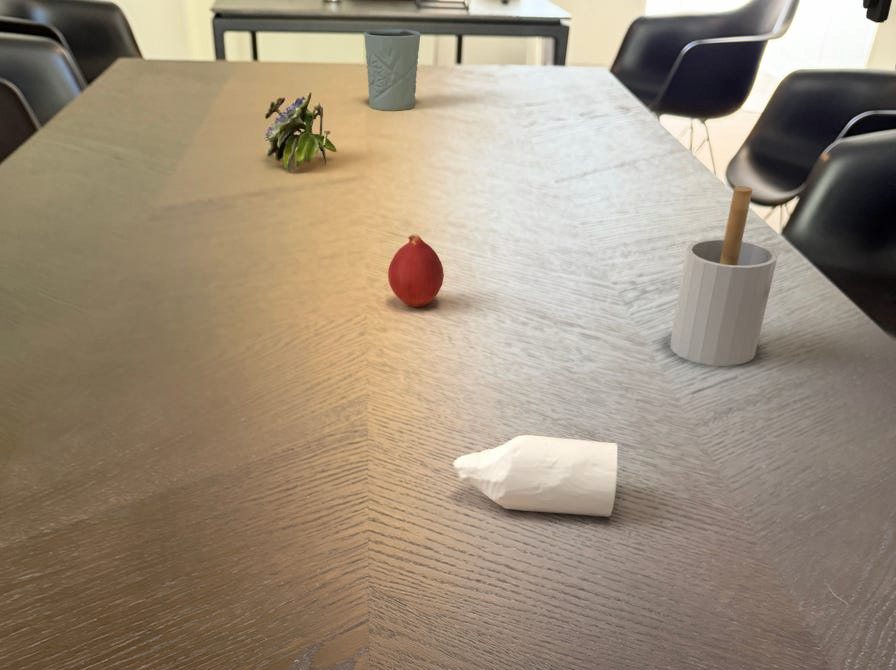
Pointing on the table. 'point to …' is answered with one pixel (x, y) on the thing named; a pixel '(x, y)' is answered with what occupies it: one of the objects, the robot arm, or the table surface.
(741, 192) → the mallet
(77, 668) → the table surface
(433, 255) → the onion
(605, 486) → the white tapered cylinder
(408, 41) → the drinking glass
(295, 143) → the passion flower
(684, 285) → the faceted pen holder
